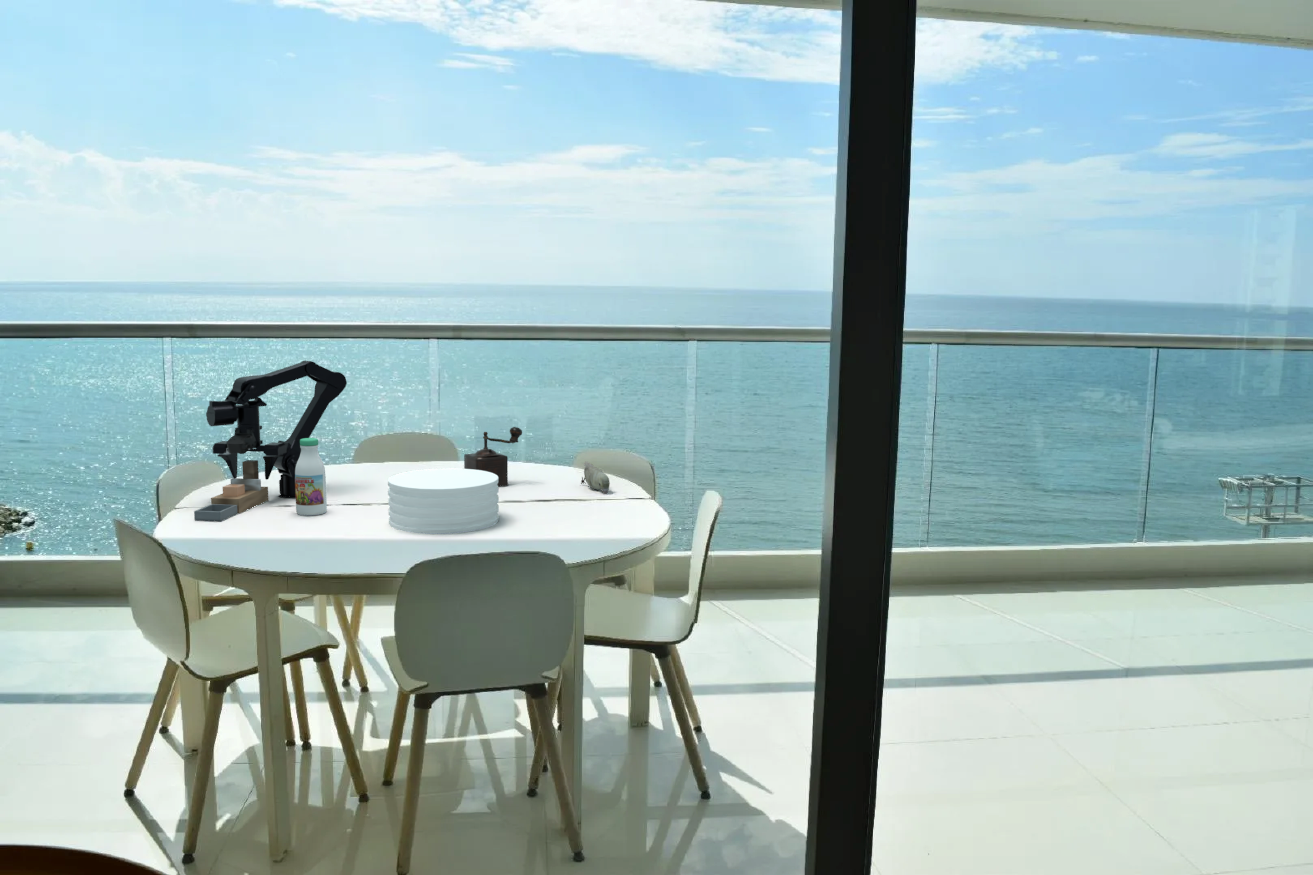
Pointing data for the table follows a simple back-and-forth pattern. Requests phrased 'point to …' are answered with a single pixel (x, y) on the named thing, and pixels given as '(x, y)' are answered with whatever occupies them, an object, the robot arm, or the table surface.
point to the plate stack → (443, 500)
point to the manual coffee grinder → (492, 458)
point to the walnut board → (243, 499)
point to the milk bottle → (310, 480)
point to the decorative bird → (595, 478)
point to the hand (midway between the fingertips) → (251, 478)
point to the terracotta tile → (233, 490)
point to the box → (215, 512)
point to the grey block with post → (249, 476)
